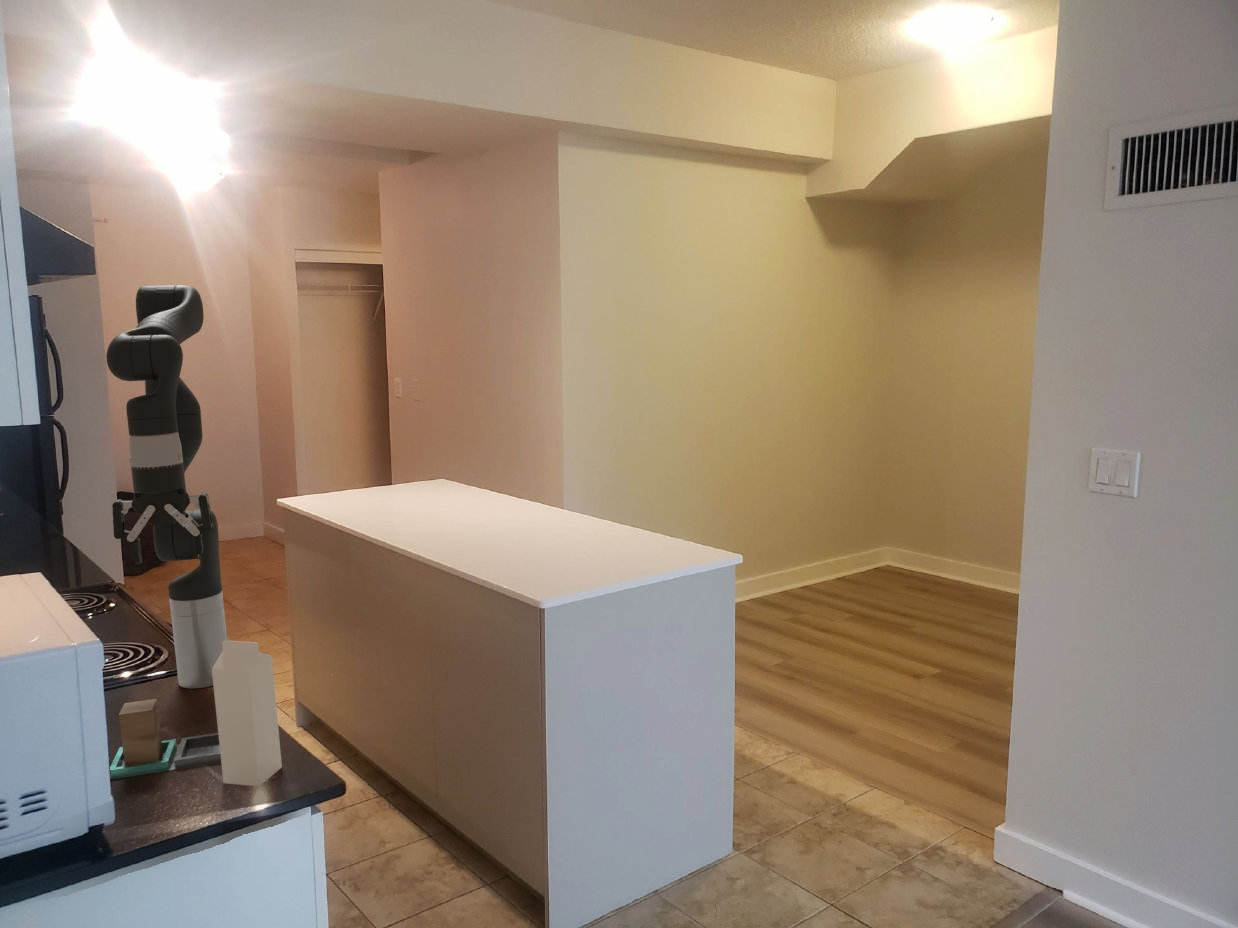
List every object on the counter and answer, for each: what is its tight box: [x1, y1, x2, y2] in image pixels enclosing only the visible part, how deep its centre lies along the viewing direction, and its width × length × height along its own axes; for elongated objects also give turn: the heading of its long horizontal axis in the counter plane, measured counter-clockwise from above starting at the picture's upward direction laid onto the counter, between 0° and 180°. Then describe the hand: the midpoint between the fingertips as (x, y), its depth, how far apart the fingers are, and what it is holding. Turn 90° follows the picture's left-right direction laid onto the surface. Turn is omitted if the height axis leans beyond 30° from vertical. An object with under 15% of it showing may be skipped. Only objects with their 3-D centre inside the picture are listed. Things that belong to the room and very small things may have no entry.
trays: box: [109, 732, 221, 780], centre depth 145 cm, size 9×18×2 cm, turn 107°
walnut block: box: [118, 698, 163, 766], centre depth 143 cm, size 4×4×9 cm
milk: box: [212, 640, 283, 787], centre depth 137 cm, size 6×6×22 cm
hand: (167, 560), depth 151 cm, fingers open, 8 cm apart
